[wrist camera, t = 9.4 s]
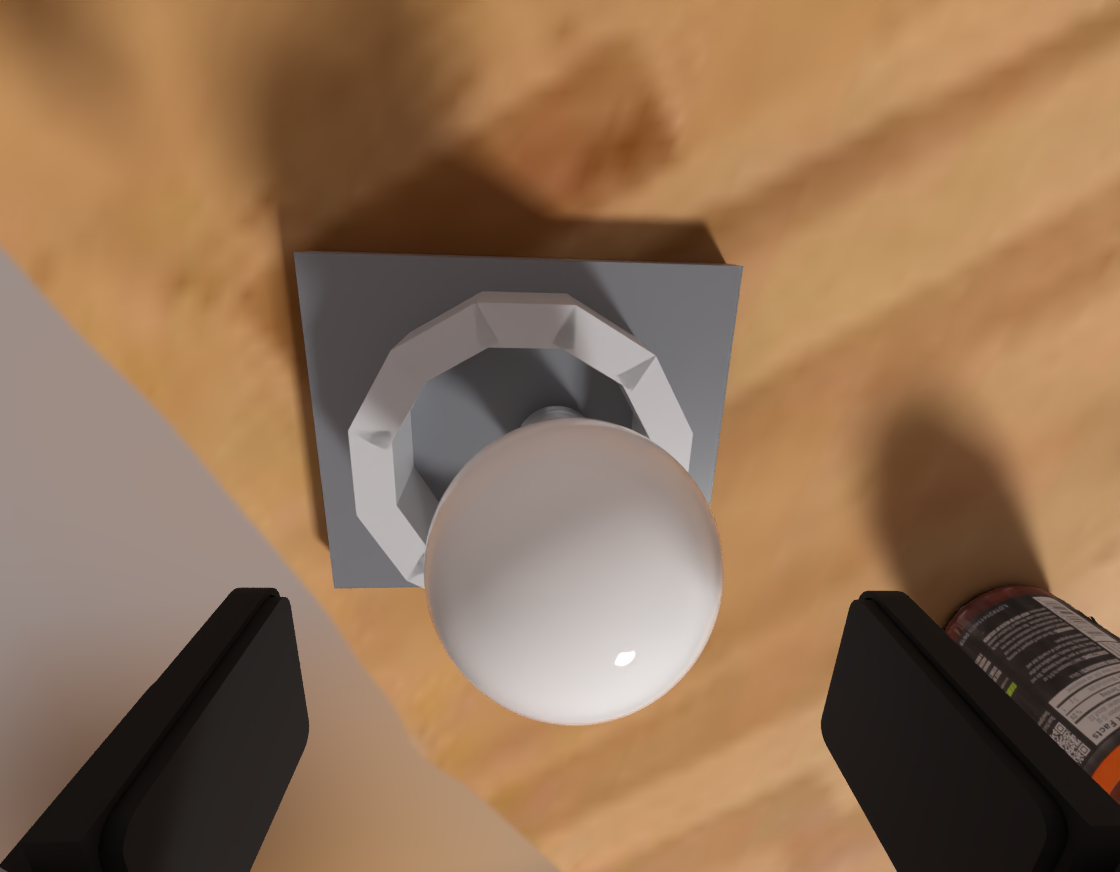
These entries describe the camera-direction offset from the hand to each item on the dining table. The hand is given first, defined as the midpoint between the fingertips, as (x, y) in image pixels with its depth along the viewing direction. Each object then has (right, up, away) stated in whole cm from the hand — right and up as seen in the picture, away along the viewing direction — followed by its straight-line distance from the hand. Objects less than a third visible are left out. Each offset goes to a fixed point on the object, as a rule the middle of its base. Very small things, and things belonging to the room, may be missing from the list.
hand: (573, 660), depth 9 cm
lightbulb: (0, +4, +10) cm, 11 cm away
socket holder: (-2, +4, +12) cm, 12 cm away
